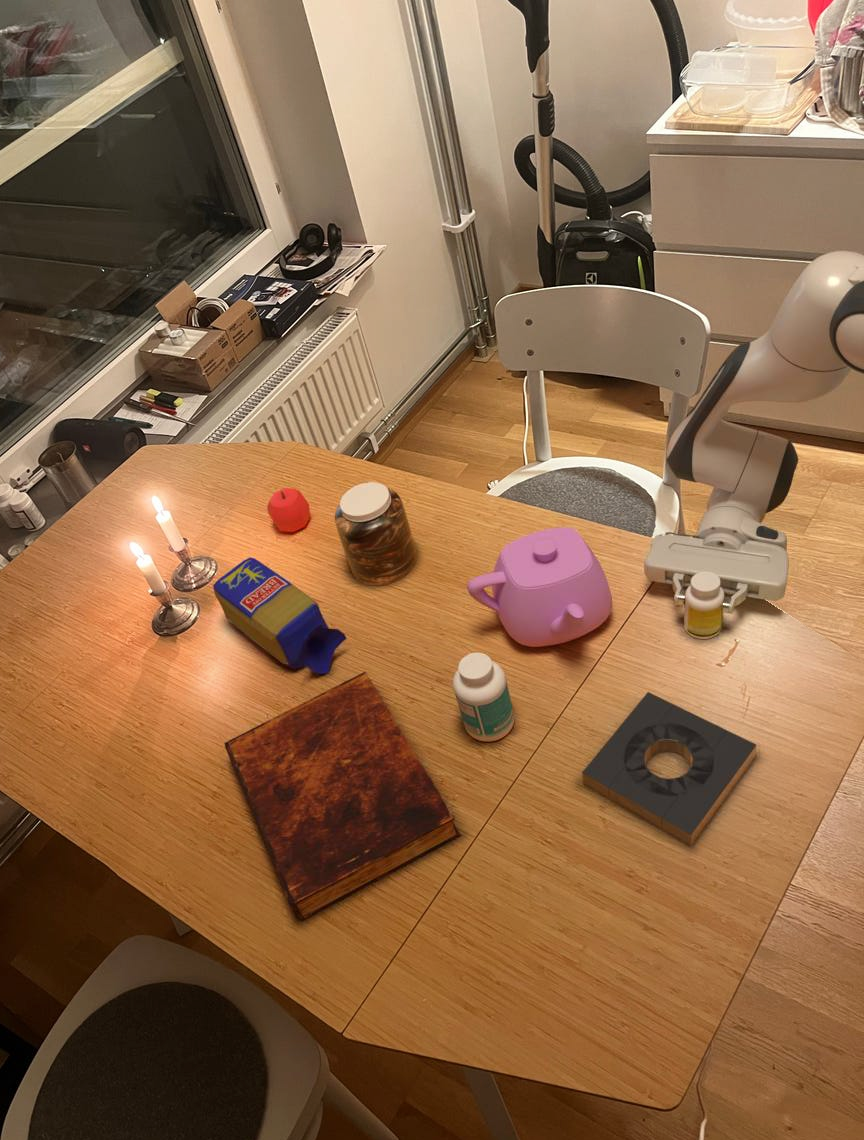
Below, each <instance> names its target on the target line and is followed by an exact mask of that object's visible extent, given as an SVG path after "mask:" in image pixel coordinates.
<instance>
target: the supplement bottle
mask: <svg viewBox="0 0 864 1140" xmlns="http://www.w3.org/2000/svg"><path fill="white" fill-rule="evenodd" d="M685 590H686V593H685V605H684V612H683V614H684V616H683V628H684V631H685V632H686V633H687V634H688V635H690V636H691V637H692V638H695V639H697V640H708V639H711V638H714V637H715V636H717V635H718V634H719V633H720V632H721V630H722V628H723V619H724V612H722V604H723V602H724V598H725V593H724V591H723V589H722V588H721V587H720V578H719V577H718V576H717V575H716V574H714V573H712V572H707V571H704V572H699V573H697V574H695V575H694V576H693V577H692V579H691V585H690V586H689V587H686V589H685Z"/></svg>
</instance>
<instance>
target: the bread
mask: <svg viewBox="0 0 864 1140" xmlns="http://www.w3.org/2000/svg"><path fill="white" fill-rule="evenodd" d="M212 587H213V592H214V596H215V598H216V600H217V601H218V603H219V605H220V606H221V609H222V611H223V613H224V616H225V618H226V619H227V620H228V621H229V622H230V623H231V624H233V625H234V626H235V627H236V628H238V629H239V630H240V631H241V632H243V634H245V635H246V636H247V637H248V638H249V639H250V640H252V641H253V642H255V643H256V644H257V645H259V646H260V647H261V648H262V649H264V650H265V651H266V652H267V653H268V654H270V655H271V656H273V657H274V658H275V659H277V660H278V661H279V662H281V663H282V664H283V665H285V666H286V667H288V668H290V669H293V670H295V671H296V670H298V669H302V668H304V667H306V668H308V669H310V670H311V671H313V672H314V673H315V674H321V675H325V674H328V673H331V663H332V658H333V656H334V654H335V652H336V650H337V649H338V648H339V647H340V646H341V645H342V643H343V642H345V641H346V640H347V636H346V634H345V633H344V632H342V631H341V630H339V629H338V628H329V626H328V624H327V622H326V619H325V618H324V616H323V614H322V611H321V609H320V605H319V603H318V602H317V601H316V600H314V599H313V597H311V596H310V595H308V594H306V593H305V592H304V591H303V590H301V589H300V588H298V587H297V586H296V585H295V584H294V583H292V582H290V581H289V580H287V579H286V578H284V577H283V576H281V575H280V574H278V572H276V571H274V570H273V569H271V568H270V567H268V566H267V565H265V564H264V563H262V562H261V561H260V560H258V559H256V558H255V557H248V558H246V559H244V560H242V561H241V562H239V563H238V564H237V565H236V566H234V567H233V568H232V569H231V570H229V571H227V573H225V574H224V575H223V576H221V577H220V578H219V579H217V580H216V582H215V583H213V584H212Z"/></svg>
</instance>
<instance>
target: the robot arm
mask: <svg viewBox="0 0 864 1140" xmlns="http://www.w3.org/2000/svg"><path fill="white" fill-rule="evenodd" d="M852 370H853V371H856V372H858V373H860V374H863V375H864V254H861V253H860V252H856V251H851V250H836V251H831V252H828V253H825V254H822V255H820V256H818V257H817V258H815V259H813V260H812V261H811V262H810V263H809V264H807V266H806V267H805V268H804V269H803V271H802V272H801V274H800V275H799V276H798V278H797V279H796V280H795V282H794V284H793V285H792V287H790V290H789V291H788V293H787V294H786V296H785V298H784V300H783V302H782V303H781V305H780V307H779V309H778V311H777V313H776V315H775V317H774V320H773V321H772V324H771V327H770V329H768V331H766V332H765V333H764V334H762V336H760V337H758V338H756V339H755V340H752V341H748V342H745V343H741V344H738V346H736V347H735V348H734V349H733V350H732V351H731V352H730V353H729V355H728V356H727V357H726V359H725V360H724V361H723V363H722V364H721V366H720V367H719V368H718V370H717V371H716V372H715V374H714V376H713V377H712V378H711V380H710V381H709V383H708V385H707V386H706V387H705V389H704V391H702V393H701V395H700V397H699V398H698V400H697V401H696V403H695V404H694V406H693V407H692V409H691V410H690V411H689V412H688V414H687V415H686V416H685V418H684V419H683V421H682V422H681V423H680V424H679V425H678V426H677V427H676V428H675V430H674V432H673V433H672V435H671V437H670V439H669V442H668V446H667V449H666V458H665V460H666V463H667V465H668V467H669V470H671V472H672V473H673V475H674V476H675V477H676V479H677V480H683V481H687V482H691V483H699V484H703V485H706V486H709V487H712V490H711V492H710V495H709V497H708V501H707V502H706V505H707V506H706V511H705V512H704V513H703V515H702V517H701V519H700V522H699V524H698V526H697V527H698V528H697V530H696V532H695V535H693V534H688V533H687V534H686V533H675V532H671V531H668V532H667V531H666V532H665V533H661V534H657V535H655V536H654V537H653V539H652V542H651V544H650V549H649V551H648V552H647V555H646V557H645V559H644V561H643V562H644V563H643V574H644V576H645V578H646V579H647V581H652V582H656V583H664V584H669V585H672V590H673V592H674V597H673V604H674V605H678V606H685V593H686V590H687V589H683V588H684V587H686V588H688V587H689V586H690V585H691V579H692V577H693V576H694V575H695V574H697V573H699V572H704V571H707V572H712V573H714V574H716V575H717V576H718V577H719V578H720V587H721V588H722V589H723V591H724V594H730V595H732V596H724V602H723V604H722V612H723V614H724V613H725V614H730V615H733V613H734V610H735V608H736V607H737V606H738V605H740V604H742V603H743V602H744V601H746V599H747V597H748V598H755V599H760V600H765V601H766V600H767V601H772V602H778V601H780V600H782V599H783V598H784V597H785V594H786V590H787V585H788V578H789V577H788V576H789V566H790V565H789V564H790V563H789V562H790V559H789V554H788V551H787V550H788V536H787V534H786V532H783V531H781V530H778V529H775V528H773V527H770V526H768V525H765V524H763V521H764V520H765V518H766V515H767V514H769V513H771V512H772V511H774V510H776V509H777V508H778V507H780V506H781V505H782V504H783V503H784V501H785V500H786V498H787V497H788V494H789V492H790V490H791V487H792V484H793V480H794V475H795V472H796V469H797V467H798V463H799V456H798V453H797V450H796V447H795V446H794V443H792V441H791V440H790V439H787V438H784V437H781V436H779V435H775V434H772V433H769V432H765V431H762V430H757V429H754V428H750V427H746V426H743V425H740V424H737V423H733V422H730V421H726V420H724V419H723V418H724V417H725V415H726V414H727V412H728V411H729V409H730V408H731V407H732V406H734V405H736V404H740V403H746V402H770V403H771V402H772V403H783V404H784V403H785V404H800V403H806V402H810V401H814V400H818V399H819V398H822V397H825V396H827V395H828V394H830V393H831V392H833V391H835V390H836V388H838V387H839V386H840V385H841V384H842V383H843V381H844V380H846V378H847V377H848V375H849V374H850V372H851V371H852Z"/></svg>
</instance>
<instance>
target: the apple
mask: <svg viewBox="0 0 864 1140" xmlns="http://www.w3.org/2000/svg"><path fill="white" fill-rule="evenodd" d="M266 508H267V514H268V516H269V517H270V519H271V520H272V522H273V523H274V525H276V527H277V528H278V530H279V532H283V533H284V532H285V533H286V532H287V533H295V532H297V531H298V530H301V529H303V528H305V527H306V525H308V524H307V523H308V522H309V520H310V518H311V510H310V509H311V508H310V504H309V502H308V501H307V500H306V498H305V496H304V495H303V494H302V492H301V491H300V489H299V490H298V489H297V488H295V487H294V488H293V487H290V488H289V487H282V488H281V489H279V490H277V491H275V492H273V494H272V495H271V496H270V499H269V501H268V503H267V506H266Z"/></svg>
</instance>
